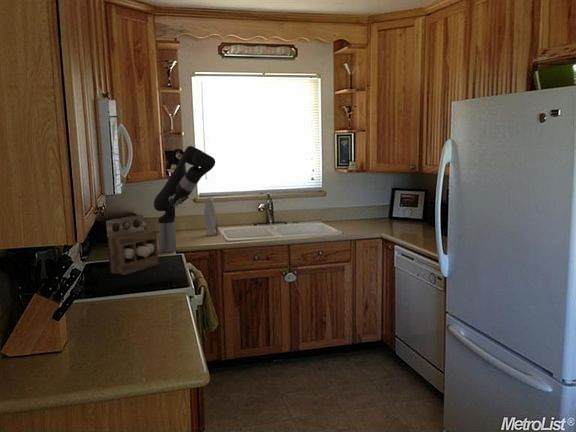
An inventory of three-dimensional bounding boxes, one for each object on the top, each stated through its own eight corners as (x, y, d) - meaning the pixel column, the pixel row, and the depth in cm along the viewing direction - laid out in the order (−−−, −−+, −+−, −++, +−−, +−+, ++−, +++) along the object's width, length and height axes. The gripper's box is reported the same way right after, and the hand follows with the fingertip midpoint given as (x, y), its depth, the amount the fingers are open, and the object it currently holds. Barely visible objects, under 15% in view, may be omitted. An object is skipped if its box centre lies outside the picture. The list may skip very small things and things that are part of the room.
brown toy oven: (110, 272, 247) (105, 220, 243) (145, 262, 266) (141, 214, 262) (123, 274, 241) (119, 221, 238) (158, 264, 261) (155, 215, 257)
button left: (116, 258, 246) (116, 248, 245) (124, 256, 250) (124, 246, 249) (126, 259, 242) (125, 249, 242) (134, 257, 246) (133, 247, 246)
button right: (137, 253, 257) (136, 243, 256) (145, 251, 261) (144, 241, 261) (147, 254, 253) (146, 244, 253) (154, 252, 258) (153, 242, 257)
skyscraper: (208, 236, 339) (205, 195, 335) (203, 235, 346) (201, 194, 342) (219, 235, 344) (217, 194, 340) (214, 233, 350) (212, 194, 346)
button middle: (132, 256, 249) (132, 246, 249) (140, 254, 254) (139, 244, 253) (142, 257, 246) (142, 247, 245) (150, 255, 250) (149, 245, 249)
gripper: (191, 178, 249) (175, 202, 257) (172, 180, 238) (156, 205, 246) (200, 189, 247) (183, 213, 255) (181, 191, 236) (164, 216, 244)
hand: (170, 209), depth 250 cm, fingers closed
